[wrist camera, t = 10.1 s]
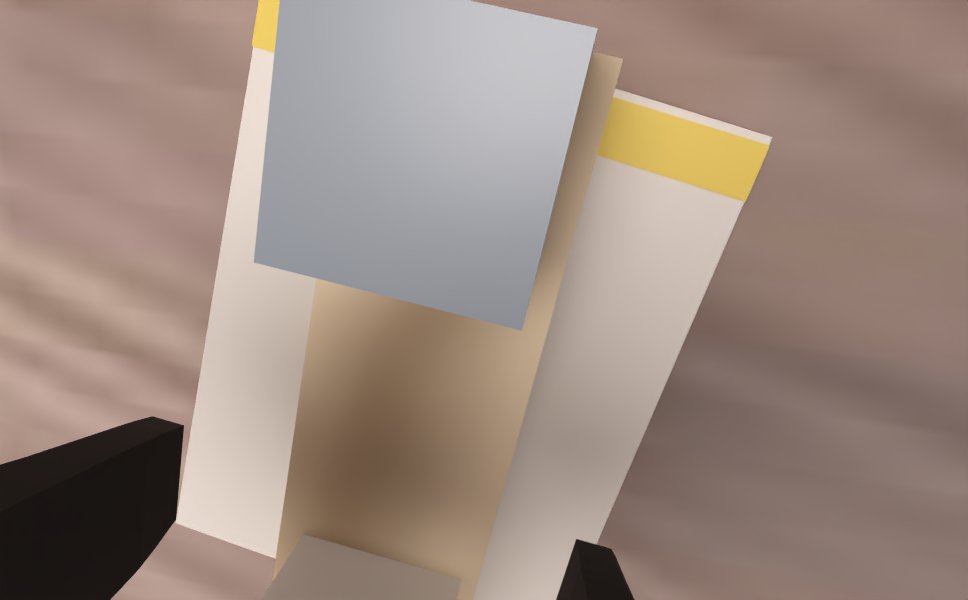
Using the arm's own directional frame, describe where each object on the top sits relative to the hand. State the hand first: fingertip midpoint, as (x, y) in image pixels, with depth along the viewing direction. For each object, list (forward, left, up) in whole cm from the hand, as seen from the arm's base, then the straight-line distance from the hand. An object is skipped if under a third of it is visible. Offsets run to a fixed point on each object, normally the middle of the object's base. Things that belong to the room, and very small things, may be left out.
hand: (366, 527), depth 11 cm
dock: (+1, 0, -9) cm, 9 cm away
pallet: (0, 0, -7) cm, 7 cm away
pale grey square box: (+1, -6, -3) cm, 7 cm away
